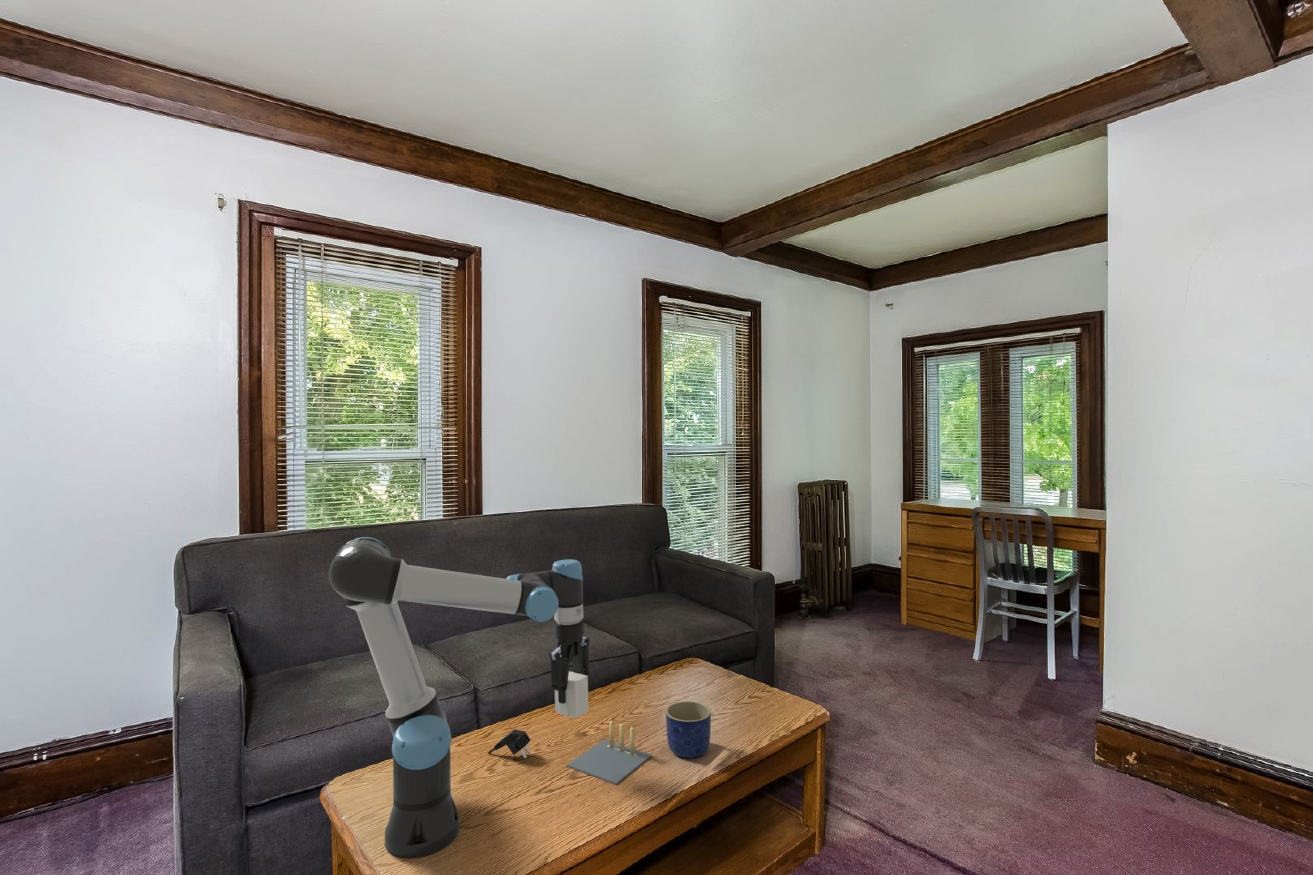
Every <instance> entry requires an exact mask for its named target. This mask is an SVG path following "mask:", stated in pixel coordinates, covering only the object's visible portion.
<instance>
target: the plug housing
mask: <svg viewBox="0 0 1313 875" xmlns="http://www.w3.org/2000/svg"><path fill="white" fill-rule="evenodd" d="M588 676H589V675H588ZM588 676H587V675H583V674H578V673H574V671H570V670H569V675H568V683H567V689H568V690H569V706H570V715H569V716H568V717H571V718H575V719H577V718H578V717H581V715H583V714H585V713H586V712H588V711H589V681H588V680H589V678H588ZM554 711H555V713H557V714H560V703H559V701H558V691H557V690H554Z"/></svg>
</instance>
